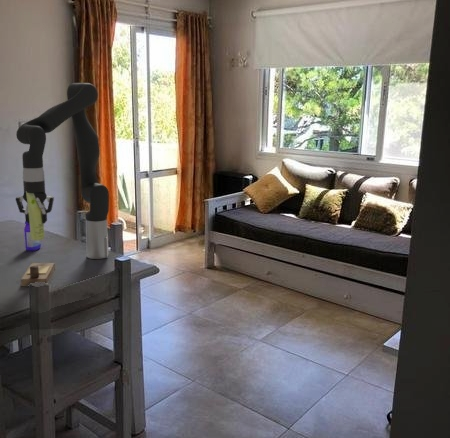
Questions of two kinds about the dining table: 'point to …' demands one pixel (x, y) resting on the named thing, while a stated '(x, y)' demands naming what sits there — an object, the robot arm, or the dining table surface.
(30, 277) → the brown flat panelled slab
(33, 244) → the bottle
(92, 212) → the robot arm
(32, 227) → the tube
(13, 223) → the dining table surface
